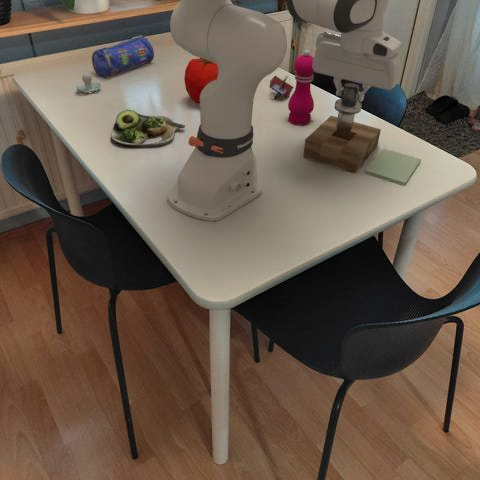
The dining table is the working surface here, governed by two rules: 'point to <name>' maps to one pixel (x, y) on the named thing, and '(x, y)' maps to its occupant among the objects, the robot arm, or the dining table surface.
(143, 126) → the salad plate
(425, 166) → the dining table surface
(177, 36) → the robot arm
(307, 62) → the pepper mill
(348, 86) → the flanged metal shaft
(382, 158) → the mat
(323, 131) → the block
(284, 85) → the geometric puzzle
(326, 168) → the dining table surface
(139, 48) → the pencil case
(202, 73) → the tomato
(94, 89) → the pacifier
